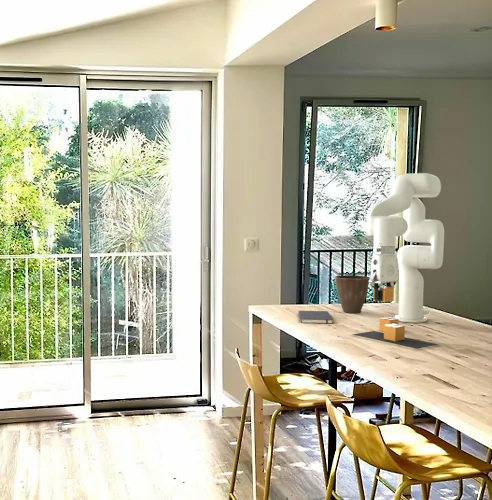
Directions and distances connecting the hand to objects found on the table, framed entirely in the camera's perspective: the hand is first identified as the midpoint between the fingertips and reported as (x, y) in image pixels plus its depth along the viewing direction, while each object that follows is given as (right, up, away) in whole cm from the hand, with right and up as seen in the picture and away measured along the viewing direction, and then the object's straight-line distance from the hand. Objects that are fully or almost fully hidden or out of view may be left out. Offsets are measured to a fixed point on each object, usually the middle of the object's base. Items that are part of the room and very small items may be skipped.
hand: (383, 299), depth 238 cm
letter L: (0, 0, 0) cm, 0 cm away
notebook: (-14, -12, +41) cm, 45 cm away
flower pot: (+7, -10, +56) cm, 58 cm away
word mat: (+2, -15, -4) cm, 15 cm away
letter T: (+7, -13, +12) cm, 19 cm away
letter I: (+2, -14, -4) cm, 15 cm away
